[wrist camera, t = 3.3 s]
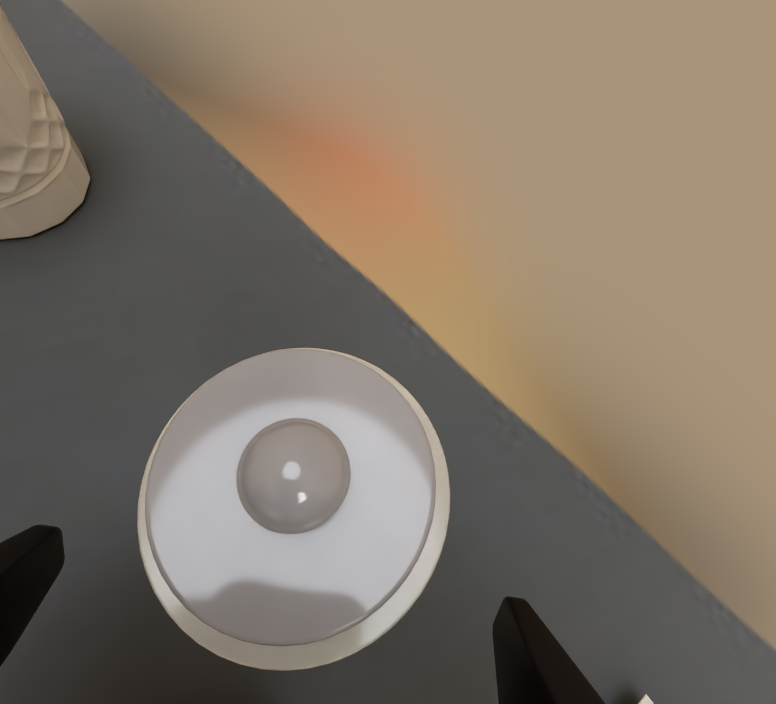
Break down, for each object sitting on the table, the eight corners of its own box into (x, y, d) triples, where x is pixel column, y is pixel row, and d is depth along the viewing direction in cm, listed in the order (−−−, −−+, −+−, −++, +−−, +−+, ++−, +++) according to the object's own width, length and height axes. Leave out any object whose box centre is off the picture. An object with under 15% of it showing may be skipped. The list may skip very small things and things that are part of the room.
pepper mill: (402, 555, 18) (581, 602, 5) (267, 616, 16) (79, 876, 4) (355, 427, 20) (407, 239, 7) (229, 473, 18) (17, 338, 6)
